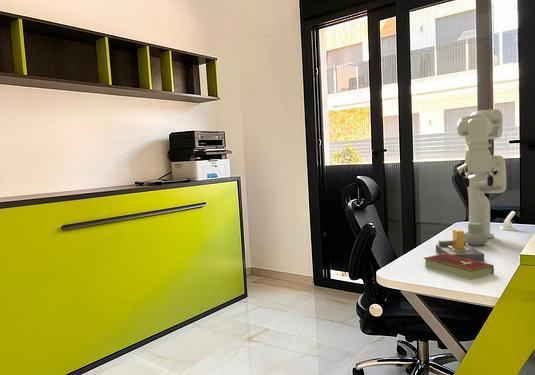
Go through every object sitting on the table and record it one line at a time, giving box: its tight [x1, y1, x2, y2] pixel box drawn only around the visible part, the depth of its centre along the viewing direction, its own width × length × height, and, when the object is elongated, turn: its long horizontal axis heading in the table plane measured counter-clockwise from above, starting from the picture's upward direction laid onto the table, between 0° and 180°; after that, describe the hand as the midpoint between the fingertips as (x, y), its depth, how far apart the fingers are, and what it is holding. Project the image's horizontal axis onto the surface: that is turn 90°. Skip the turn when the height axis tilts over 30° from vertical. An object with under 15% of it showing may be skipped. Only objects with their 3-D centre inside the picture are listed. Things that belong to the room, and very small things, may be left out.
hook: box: [499, 210, 517, 232], centre depth 220 cm, size 8×12×7 cm
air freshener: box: [464, 222, 488, 246], centre depth 190 cm, size 11×8×10 cm
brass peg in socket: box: [452, 228, 465, 250], centre depth 172 cm, size 4×3×11 cm, turn 174°
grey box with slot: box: [435, 239, 485, 262], centre depth 172 cm, size 18×13×5 cm
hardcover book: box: [423, 253, 495, 281], centre depth 153 cm, size 12×21×4 cm, turn 25°
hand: (478, 186), depth 178 cm, fingers open, 9 cm apart
